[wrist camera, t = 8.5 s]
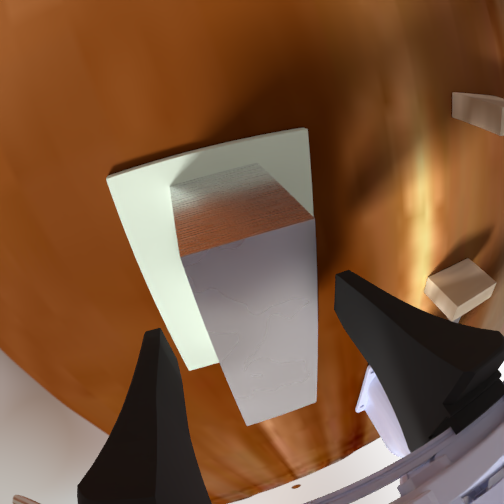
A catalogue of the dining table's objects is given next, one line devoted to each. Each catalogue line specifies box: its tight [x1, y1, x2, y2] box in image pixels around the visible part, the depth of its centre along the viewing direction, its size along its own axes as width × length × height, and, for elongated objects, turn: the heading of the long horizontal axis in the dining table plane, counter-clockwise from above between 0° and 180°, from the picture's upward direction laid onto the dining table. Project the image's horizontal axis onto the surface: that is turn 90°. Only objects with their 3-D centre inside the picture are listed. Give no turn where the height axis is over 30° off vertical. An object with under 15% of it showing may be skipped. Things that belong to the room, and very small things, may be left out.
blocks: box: [424, 92, 504, 323], centre depth 17 cm, size 17×5×4 cm, turn 7°
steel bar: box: [170, 163, 318, 426], centre depth 13 cm, size 10×4×5 cm, turn 8°
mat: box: [106, 127, 314, 371], centre depth 15 cm, size 12×8×1 cm, turn 7°
